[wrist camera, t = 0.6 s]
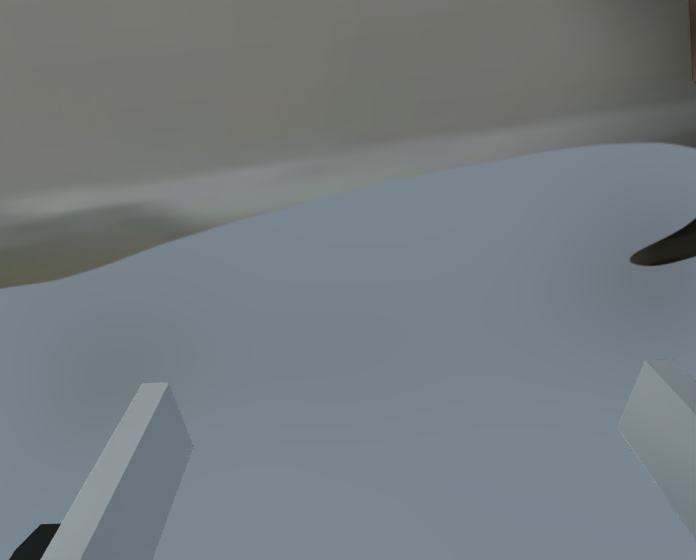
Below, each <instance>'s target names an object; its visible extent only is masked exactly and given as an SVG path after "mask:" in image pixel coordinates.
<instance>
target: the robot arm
mask: <svg viewBox="0 0 696 560" xmlns="http://www.w3.org/2000/svg"><path fill="white" fill-rule="evenodd" d="M617 429H618V430H619V432H620V433H621V435H622V436H623V438H624V439H625V440H626V442H627V443H628V445H629V446H630V448H631V449H632V451H633V452H634V453H635V455H636V456H637V458H638V459H639V461H640V462H641V464H642V465H643V467H644V468H645V469H646V471H647V472H648V474H649V475H650V477H651V478H652V480H653V481H654V482H655V484H656V485H657V487H658V488H659V490H660V491H661V493H662V494H663V495H664V497H665V498H666V500H667V501H668V503H669V504H670V505H671V507H672V508H673V510H674V511H675V513H676V514H677V516H678V517H679V519H680V520H681V522H682V523H683V524H684V526H685V527H686V529H687V530H688V532H689V533H690V534H691V536H692V537H693V539H694V540H695V542H696V380H695V379H694V378H693V377H692V376H691V375H690V374H688V373H687V371H685V369H684V368H683V367H681V365H680V364H678V363H677V362H676V361H675V360H674V359H660V360H645V362H644V364H643V367H642V369H641V372H640V374H639V377H638V379H637V381H636V384H635V386H634V388H633V391H632V393H631V396H630V398H629V401H628V403H627V405H626V408H625V410H624V412H623V415H622V417H621V420H620V422H619V424H618V427H617ZM192 449H193V444H192V441H191V438H190V436H189V433H188V431H187V428H186V425H185V423H184V420H183V418H182V415H181V412H180V410H179V407H178V405H177V402H176V399H175V397H174V394H173V392H172V389H171V386H170V384H169V382H168V383H146V384H142V385H141V387H140V388H139V390H138V392H137V393H136V395H135V397H134V399H133V400H132V402H131V404H130V405H129V407H128V409H127V411H126V412H125V414H124V416H123V417H122V419H121V421H120V423H119V424H118V426H117V428H116V430H115V431H114V433H113V435H112V437H111V438H110V440H109V442H108V443H107V445H106V447H105V449H104V450H103V452H102V454H101V456H100V457H99V459H98V461H97V463H96V464H95V466H94V468H93V469H92V471H91V473H90V475H89V476H88V478H87V480H86V482H85V483H84V485H83V487H82V489H81V491H80V492H79V494H78V495H77V497H76V499H75V501H74V502H73V504H72V506H71V508H70V509H69V511H68V513H67V515H66V516H65V518H64V520H63V522H62V523H61V524H42V525H40V526H39V527H38V528H37V529H36V530H35V531H34V532H33V533H32V534H31V535H30V536H29V537H28V538H27V539H26V540H25V541H24V542H23V543H22V544H21V545H20V546H19V547H18V548H17V549H16V550H15V551H14V553H13V555H12V556H11V558H10V559H9V560H152V559H153V556H154V553H155V551H156V548H157V545H158V543H159V540H160V537H161V534H162V531H163V529H164V526H165V523H166V521H167V518H168V515H169V512H170V509H171V507H172V504H173V501H174V498H175V496H176V493H177V490H178V488H179V485H180V482H181V479H182V477H183V474H184V471H185V468H186V465H187V463H188V460H189V457H190V455H191V452H192Z"/></svg>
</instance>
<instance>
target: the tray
mask: <svg viewBox="0 0 696 560" xmlns="http://www.w3.org/2000/svg"><path fill="white" fill-rule="evenodd" d="M689 8H690V28H691V48H692V69H693V81H696V0H689Z"/></svg>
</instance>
